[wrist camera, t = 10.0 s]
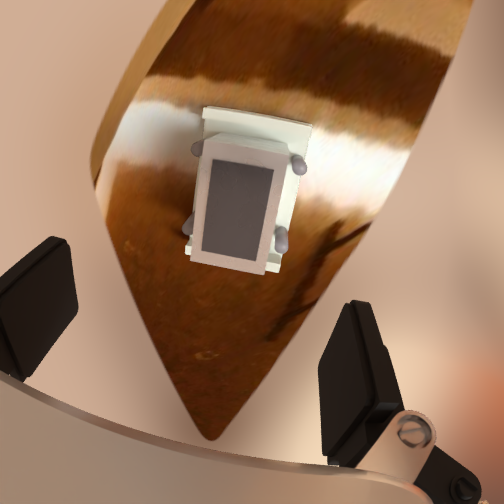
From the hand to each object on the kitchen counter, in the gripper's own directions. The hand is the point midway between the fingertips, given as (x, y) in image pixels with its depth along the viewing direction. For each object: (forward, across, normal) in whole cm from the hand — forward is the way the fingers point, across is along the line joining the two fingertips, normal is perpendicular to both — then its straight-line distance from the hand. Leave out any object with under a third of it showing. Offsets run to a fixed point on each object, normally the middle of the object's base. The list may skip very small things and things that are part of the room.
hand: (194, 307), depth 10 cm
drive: (+16, 0, +1) cm, 16 cm away
